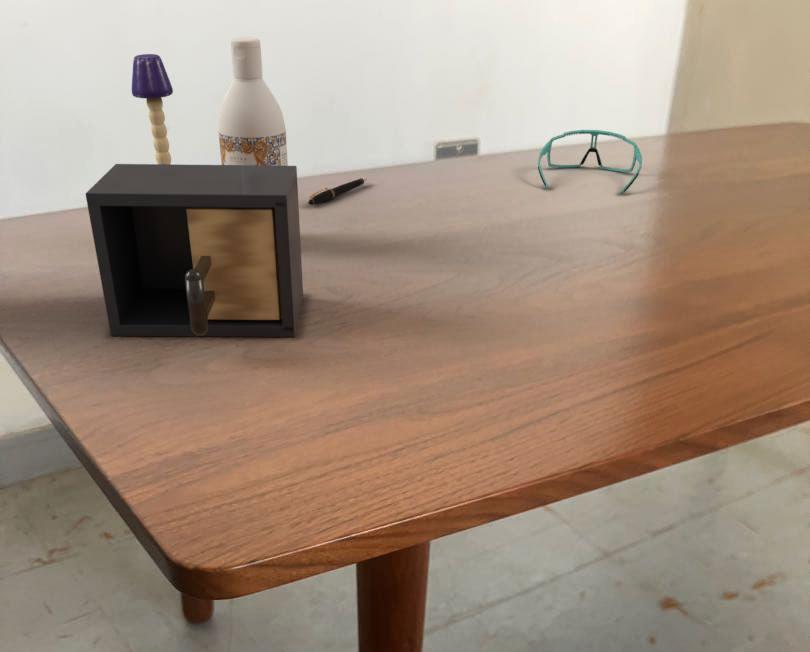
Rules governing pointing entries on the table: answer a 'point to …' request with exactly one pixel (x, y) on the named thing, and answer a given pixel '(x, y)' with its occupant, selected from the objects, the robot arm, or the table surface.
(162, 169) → the cupboard
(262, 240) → the sliding door
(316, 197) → the fountain pen
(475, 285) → the table surface
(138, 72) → the toy lamp
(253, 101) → the bath foam
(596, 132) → the sunglasses
